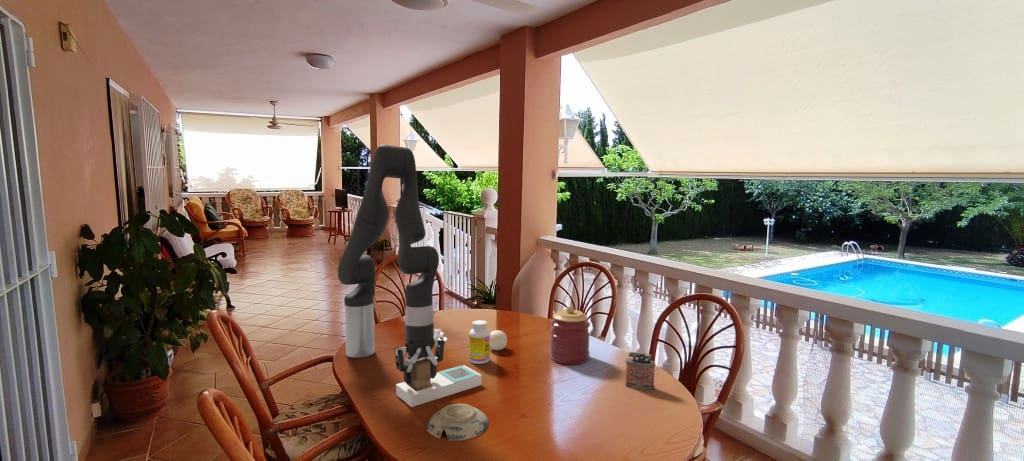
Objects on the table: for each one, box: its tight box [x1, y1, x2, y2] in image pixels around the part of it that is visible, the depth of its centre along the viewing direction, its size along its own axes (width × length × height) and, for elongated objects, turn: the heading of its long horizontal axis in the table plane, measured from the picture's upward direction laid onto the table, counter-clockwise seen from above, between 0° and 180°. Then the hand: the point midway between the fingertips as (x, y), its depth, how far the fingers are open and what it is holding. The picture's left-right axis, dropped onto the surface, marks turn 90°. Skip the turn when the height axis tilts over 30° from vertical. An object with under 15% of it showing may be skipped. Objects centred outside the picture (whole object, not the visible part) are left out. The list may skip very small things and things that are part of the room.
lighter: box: [624, 351, 656, 391], centre depth 135 cm, size 8×3×10 cm, turn 71°
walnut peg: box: [410, 357, 431, 391], centre depth 129 cm, size 4×4×10 cm
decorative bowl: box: [426, 402, 490, 441], centre depth 114 cm, size 15×4×15 cm
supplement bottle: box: [468, 319, 491, 365], centre depth 154 cm, size 7×7×13 cm
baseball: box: [490, 329, 508, 351], centre depth 165 cm, size 7×7×7 cm
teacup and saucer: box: [433, 328, 448, 343], centre depth 175 cm, size 9×8×4 cm
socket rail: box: [395, 364, 483, 408], centre depth 133 cm, size 9×22×3 cm, turn 128°
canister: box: [549, 305, 591, 365], centre depth 157 cm, size 13×13×18 cm
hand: (420, 380), depth 129 cm, fingers open, 6 cm apart
